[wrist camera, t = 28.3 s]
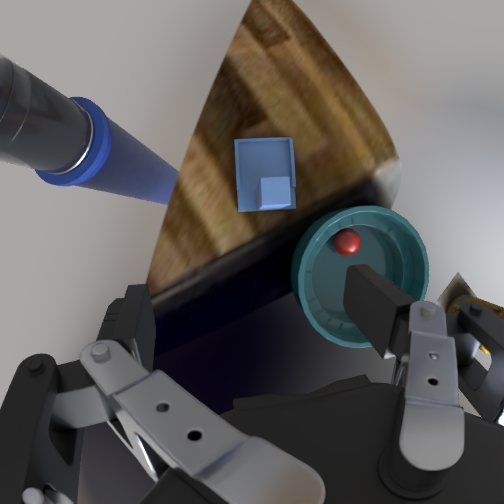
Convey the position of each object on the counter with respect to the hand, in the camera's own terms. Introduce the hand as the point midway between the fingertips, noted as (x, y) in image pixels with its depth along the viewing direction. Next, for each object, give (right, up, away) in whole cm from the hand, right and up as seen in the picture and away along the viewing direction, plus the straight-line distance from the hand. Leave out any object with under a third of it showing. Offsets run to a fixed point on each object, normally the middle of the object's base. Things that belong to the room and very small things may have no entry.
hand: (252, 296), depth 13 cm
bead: (+11, +3, +23) cm, 26 cm away
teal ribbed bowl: (+12, -1, +26) cm, 28 cm away
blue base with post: (+1, +11, +24) cm, 27 cm away
